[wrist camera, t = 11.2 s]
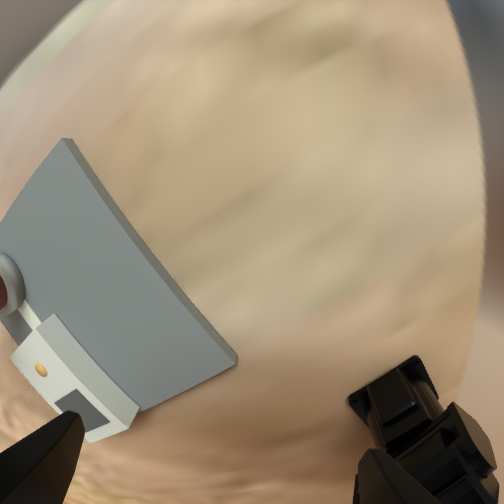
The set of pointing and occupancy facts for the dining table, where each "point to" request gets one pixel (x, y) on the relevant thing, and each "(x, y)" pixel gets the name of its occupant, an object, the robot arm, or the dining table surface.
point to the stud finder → (73, 380)
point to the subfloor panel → (104, 285)
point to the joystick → (10, 286)
